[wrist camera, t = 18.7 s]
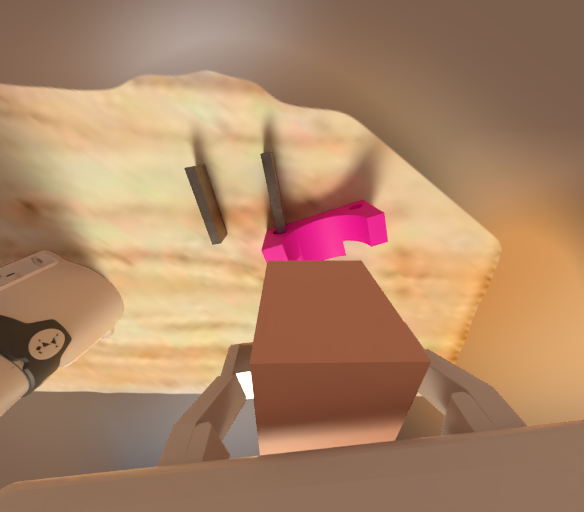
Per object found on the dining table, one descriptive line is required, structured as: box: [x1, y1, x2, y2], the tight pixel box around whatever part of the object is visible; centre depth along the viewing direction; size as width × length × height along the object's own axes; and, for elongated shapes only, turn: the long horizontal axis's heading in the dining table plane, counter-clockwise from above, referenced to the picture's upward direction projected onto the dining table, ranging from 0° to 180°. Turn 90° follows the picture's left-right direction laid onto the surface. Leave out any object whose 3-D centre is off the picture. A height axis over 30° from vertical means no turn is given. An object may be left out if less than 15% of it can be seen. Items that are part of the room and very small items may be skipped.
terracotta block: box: [250, 261, 431, 455], centre depth 10 cm, size 5×6×6 cm
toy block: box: [262, 200, 388, 262], centre depth 29 cm, size 15×6×8 cm, turn 108°
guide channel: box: [185, 152, 286, 245], centre depth 28 cm, size 10×10×4 cm
